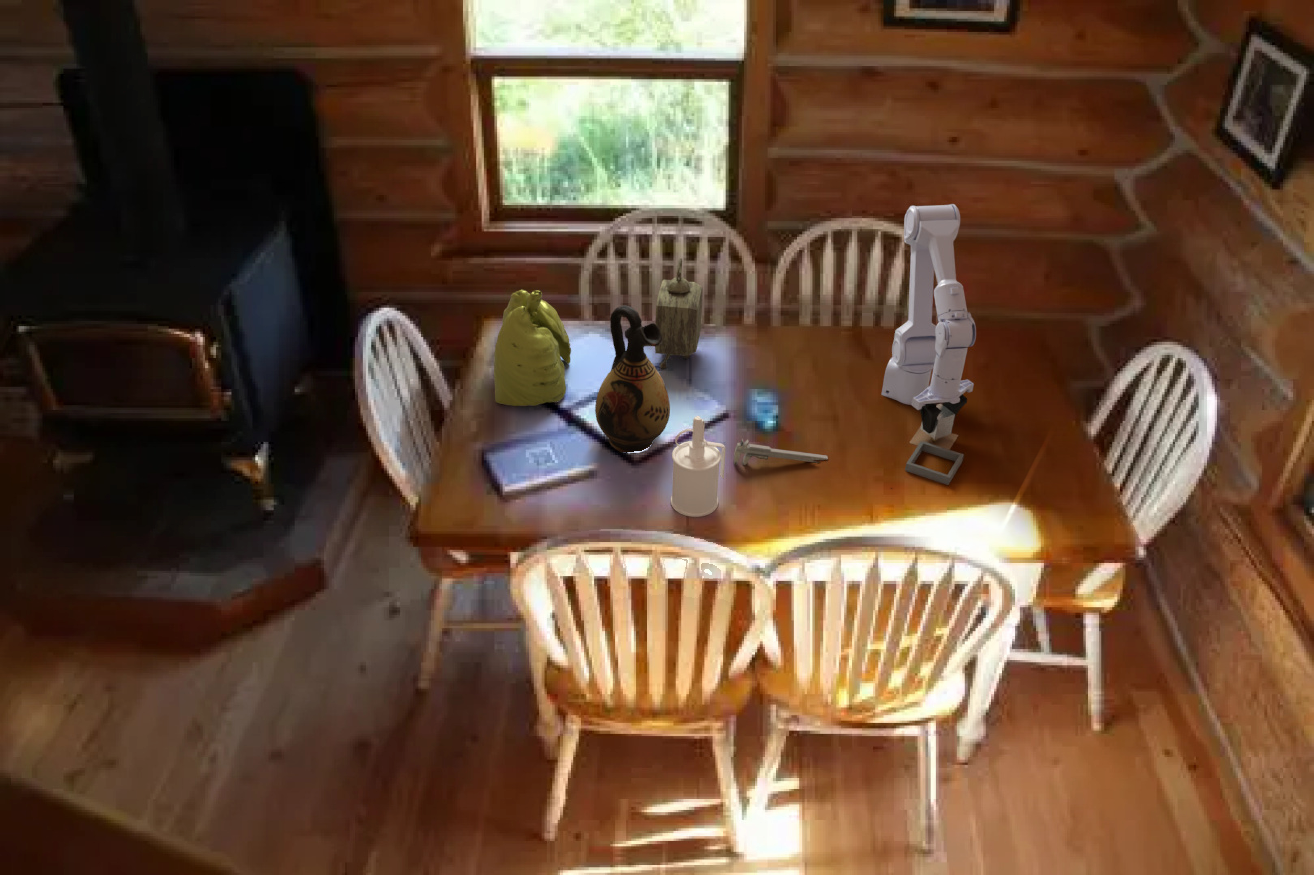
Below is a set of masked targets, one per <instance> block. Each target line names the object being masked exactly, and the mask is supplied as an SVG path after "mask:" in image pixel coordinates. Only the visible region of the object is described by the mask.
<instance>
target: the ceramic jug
mask: <svg viewBox="0 0 1314 875" xmlns="http://www.w3.org/2000/svg"><path fill="white" fill-rule="evenodd" d="M622 318H626V319H627V321H628V323H629V327H628V328H627V329H626V330H625V331H624V332H623V327H622V323H621V322H622ZM609 320H610V333H611V337H612V338H611V339H612V344H613V348H614V352H615V357H614V358H613V361H612V364H611V368H610V371H609V372H608V373H607V375H606V376H605V377H604V379H603V381H602V383H601V384H600V387H599V389H598V391H597V392H598V393H597V396H596V400H595V404H594V405H595V407H594V411H595V412H594V413H595V419H596V422H597V425H598V426H599V428H600V430H601V431H602V433H603V434H604V436H606V437H607V439H608V442H609V444H610V446H611V447H612V448H614V450H616V451H618V452H620V453H621V454H623V453H622V452H626V453H627V452H634V451H642V450H644V449H646V448H648V447H650V445H651V444H652V442H653V443H654V441H655V440H656V439H657V438H659V437H660V436H661V435H662V434H663V432H664V431H665V429H666V427H667V425H668V423H669V420H670V416H671V415H670V414H671V404H670V398H669V392H668V389H667V386H666V384H665V382H664V379H663V378H662V376H661V374H660V373H659V371H658V370H657V368H656V366H655V365H654V364H653V363H652V362H651V360H650V359H649V358H648V356H647V354H646V352H645V349H644V348H645V347H655V346H659V345H660V344H661V343H662V340H663V339H662V335H661V332H660V329H659V328H658V327H657V325H656V324H655V322H654V323H653V322H652V323H649V324H646V325H644V326H642V322H643V321H642V318H641V316H640V314H639V312H638V311H637V310H636V309H635V308H634V307H632V306H629V305H625V304H624V305H620V306H618V307H616V308H615V309H614V310H613V311H612V313H611V314H610V318H609ZM624 338H626V339H627V347H626V342H625V340H624ZM652 445H653V444H652ZM650 448H651V447H650Z"/></svg>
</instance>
